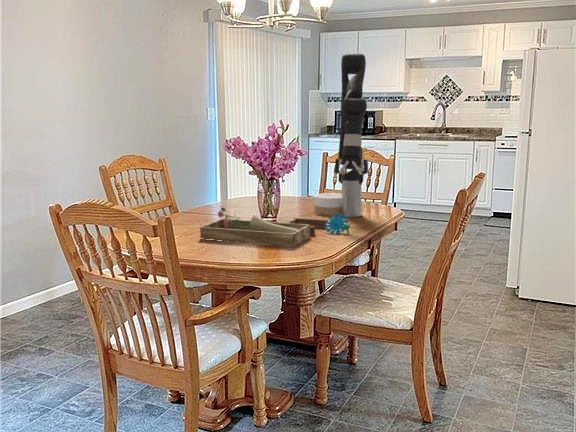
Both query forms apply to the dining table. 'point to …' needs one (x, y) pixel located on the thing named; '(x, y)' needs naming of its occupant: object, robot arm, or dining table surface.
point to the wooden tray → (255, 233)
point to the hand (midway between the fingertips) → (350, 183)
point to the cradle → (309, 223)
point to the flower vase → (257, 224)
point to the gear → (337, 224)
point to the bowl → (328, 203)
